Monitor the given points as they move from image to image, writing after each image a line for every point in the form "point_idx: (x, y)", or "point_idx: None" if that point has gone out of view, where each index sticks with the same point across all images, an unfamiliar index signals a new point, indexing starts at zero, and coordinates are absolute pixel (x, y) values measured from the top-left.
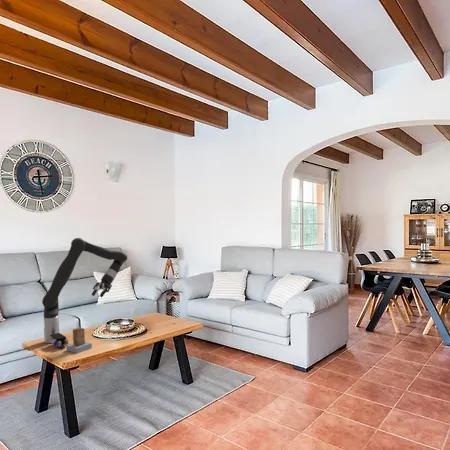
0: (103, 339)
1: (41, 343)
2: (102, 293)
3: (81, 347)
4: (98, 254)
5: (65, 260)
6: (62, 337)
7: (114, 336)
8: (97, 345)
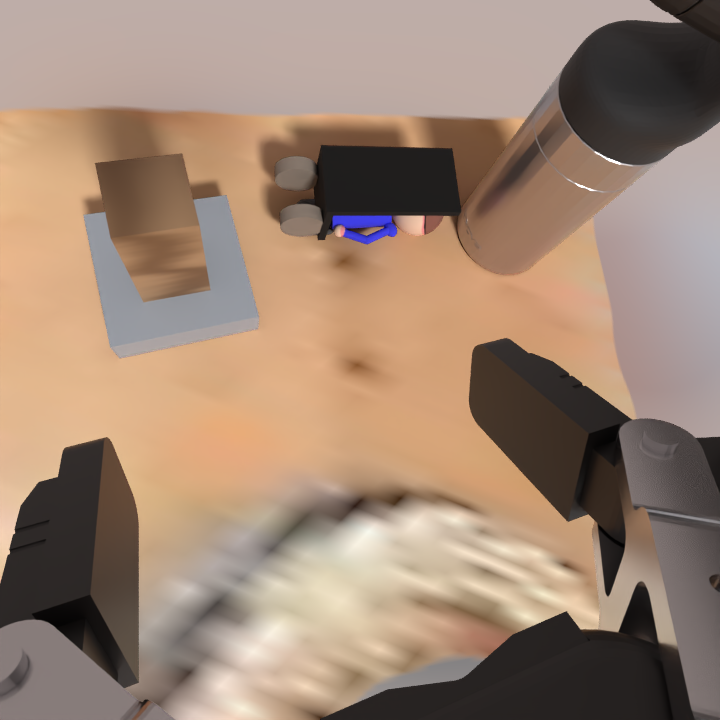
0: (253, 519)
1: None
2: (34, 548)
3: (92, 255)
4: None
5: None
6: (332, 187)
7: (255, 638)
8: (138, 414)
